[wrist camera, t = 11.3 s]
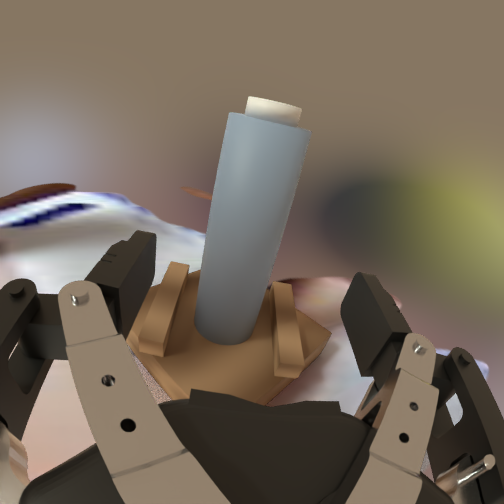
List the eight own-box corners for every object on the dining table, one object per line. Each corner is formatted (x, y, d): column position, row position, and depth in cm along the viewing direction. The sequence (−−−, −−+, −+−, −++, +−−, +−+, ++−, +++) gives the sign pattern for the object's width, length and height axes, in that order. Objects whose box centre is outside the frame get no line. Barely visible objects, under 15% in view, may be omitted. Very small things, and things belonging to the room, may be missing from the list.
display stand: (105, 323, 23) (98, 270, 20) (222, 276, 34) (231, 232, 31) (216, 456, 15) (230, 422, 13) (328, 354, 26) (354, 310, 24)
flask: (182, 316, 23) (216, 90, 15) (225, 296, 26) (269, 102, 18) (222, 355, 20) (284, 102, 12) (265, 328, 24) (331, 117, 16)
